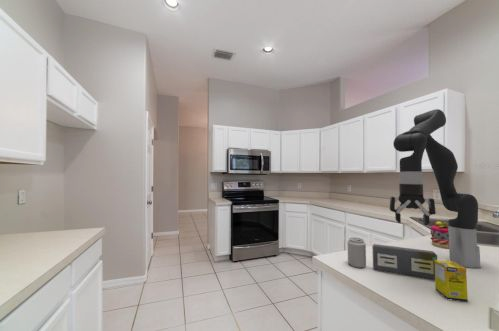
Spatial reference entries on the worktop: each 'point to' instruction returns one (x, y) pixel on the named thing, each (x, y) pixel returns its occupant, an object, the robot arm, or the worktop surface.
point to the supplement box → (451, 280)
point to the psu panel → (404, 261)
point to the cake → (440, 235)
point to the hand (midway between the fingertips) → (411, 223)
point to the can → (356, 252)
